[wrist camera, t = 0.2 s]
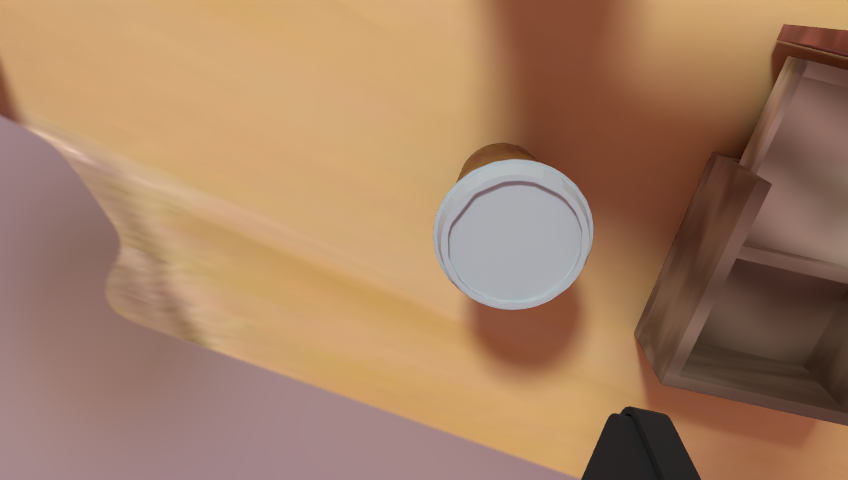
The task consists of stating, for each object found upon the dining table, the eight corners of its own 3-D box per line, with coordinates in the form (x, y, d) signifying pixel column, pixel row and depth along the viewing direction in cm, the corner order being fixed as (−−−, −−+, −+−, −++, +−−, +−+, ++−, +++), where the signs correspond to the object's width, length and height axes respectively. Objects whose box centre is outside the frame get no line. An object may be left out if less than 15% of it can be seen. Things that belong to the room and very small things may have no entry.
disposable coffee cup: (536, 100, 43) (565, 138, 32) (580, 213, 46) (619, 283, 35) (417, 152, 45) (405, 205, 34) (467, 257, 48) (471, 337, 37)
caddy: (712, 152, 44) (757, 180, 37) (903, 198, 44) (980, 234, 38) (634, 333, 50) (660, 384, 43) (802, 371, 50) (853, 427, 44)
